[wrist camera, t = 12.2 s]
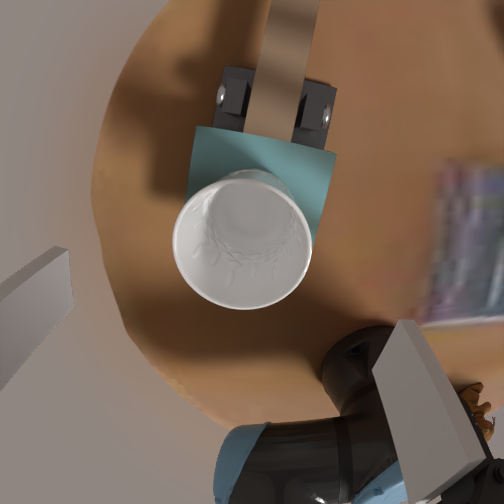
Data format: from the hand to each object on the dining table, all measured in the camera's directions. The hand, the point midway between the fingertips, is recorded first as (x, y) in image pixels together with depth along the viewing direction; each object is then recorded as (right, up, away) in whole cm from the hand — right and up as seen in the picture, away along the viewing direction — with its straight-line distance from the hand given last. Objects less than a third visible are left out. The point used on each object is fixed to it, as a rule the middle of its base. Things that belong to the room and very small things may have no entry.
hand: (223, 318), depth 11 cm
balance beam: (+3, +16, +13) cm, 21 cm away
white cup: (+1, +6, +15) cm, 17 cm away
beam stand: (+3, +17, +19) cm, 26 cm away
